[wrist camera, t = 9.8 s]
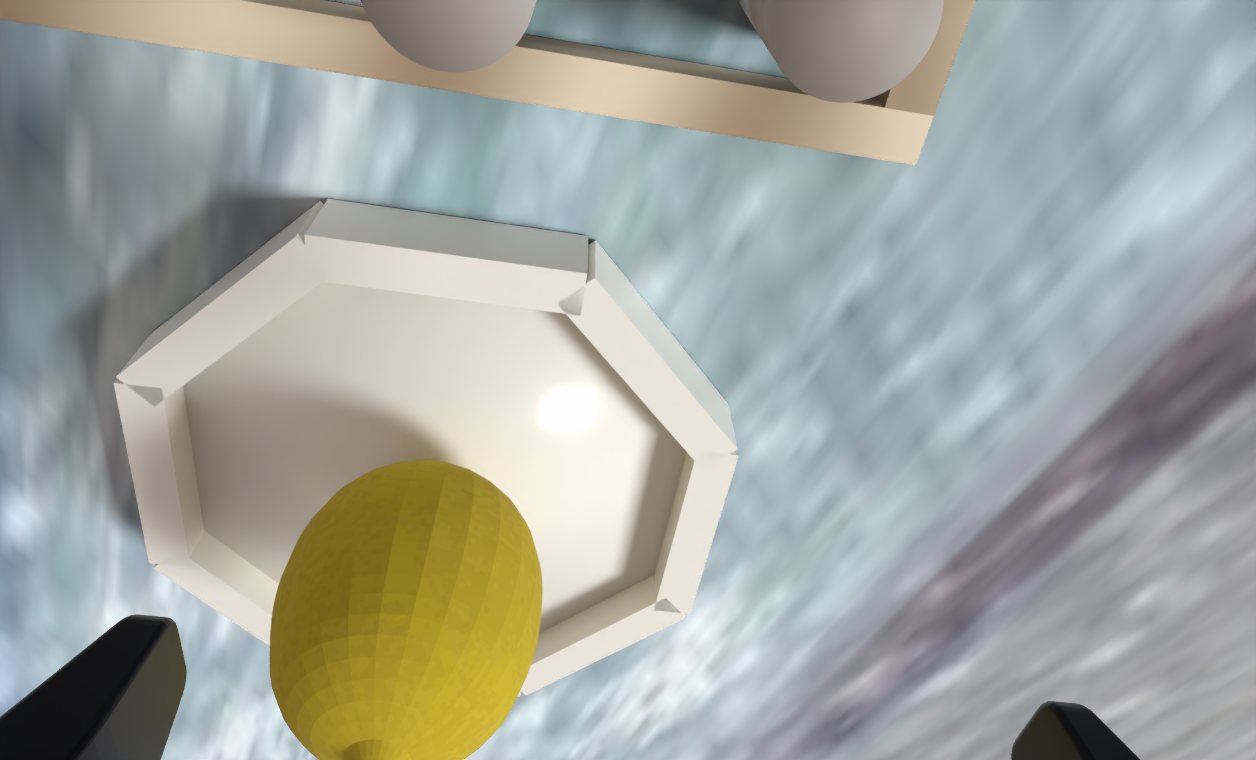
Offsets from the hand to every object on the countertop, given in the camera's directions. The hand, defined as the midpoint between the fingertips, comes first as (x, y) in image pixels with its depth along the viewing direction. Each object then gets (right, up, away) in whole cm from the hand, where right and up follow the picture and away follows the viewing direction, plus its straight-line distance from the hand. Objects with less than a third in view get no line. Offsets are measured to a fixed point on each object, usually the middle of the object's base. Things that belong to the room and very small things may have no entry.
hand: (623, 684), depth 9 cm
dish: (-5, +1, +14) cm, 15 cm away
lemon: (-5, +1, +13) cm, 14 cm away
